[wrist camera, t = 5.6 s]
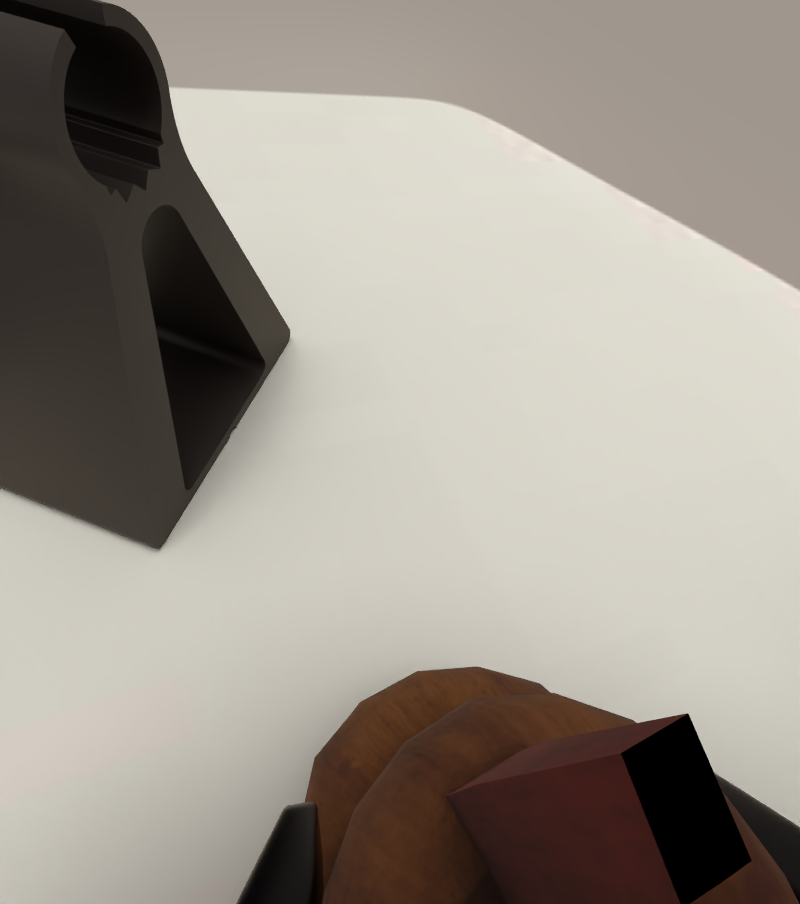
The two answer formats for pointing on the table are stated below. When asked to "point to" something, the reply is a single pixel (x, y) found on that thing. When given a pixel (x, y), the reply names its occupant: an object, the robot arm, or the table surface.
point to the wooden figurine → (525, 803)
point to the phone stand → (113, 279)
